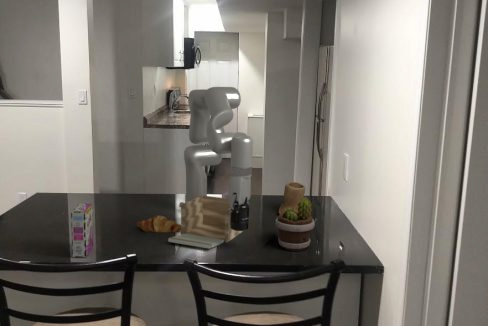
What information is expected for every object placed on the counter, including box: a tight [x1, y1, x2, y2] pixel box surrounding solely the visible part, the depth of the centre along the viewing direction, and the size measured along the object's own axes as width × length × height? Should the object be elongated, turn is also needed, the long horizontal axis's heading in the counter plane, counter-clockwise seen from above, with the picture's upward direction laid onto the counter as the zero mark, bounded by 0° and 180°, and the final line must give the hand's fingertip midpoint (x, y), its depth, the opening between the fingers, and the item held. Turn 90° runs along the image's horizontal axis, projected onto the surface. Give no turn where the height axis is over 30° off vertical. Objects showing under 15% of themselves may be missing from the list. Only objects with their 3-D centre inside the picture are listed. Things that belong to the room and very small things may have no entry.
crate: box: [180, 195, 244, 243], centre depth 186 cm, size 17×20×13 cm
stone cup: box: [278, 181, 306, 215], centre depth 218 cm, size 15×12×15 cm
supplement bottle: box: [230, 197, 251, 232], centre depth 167 cm, size 7×7×12 cm
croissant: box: [136, 214, 181, 234], centre depth 190 cm, size 21×10×8 cm, turn 75°
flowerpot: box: [274, 196, 316, 252], centre depth 174 cm, size 14×15×20 cm
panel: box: [167, 234, 225, 250], centre depth 174 cm, size 1×17×12 cm
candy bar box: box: [70, 203, 94, 258], centre depth 165 cm, size 11×5×16 cm, turn 5°
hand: (239, 219), depth 168 cm, fingers closed on supplement bottle, 6 cm apart
